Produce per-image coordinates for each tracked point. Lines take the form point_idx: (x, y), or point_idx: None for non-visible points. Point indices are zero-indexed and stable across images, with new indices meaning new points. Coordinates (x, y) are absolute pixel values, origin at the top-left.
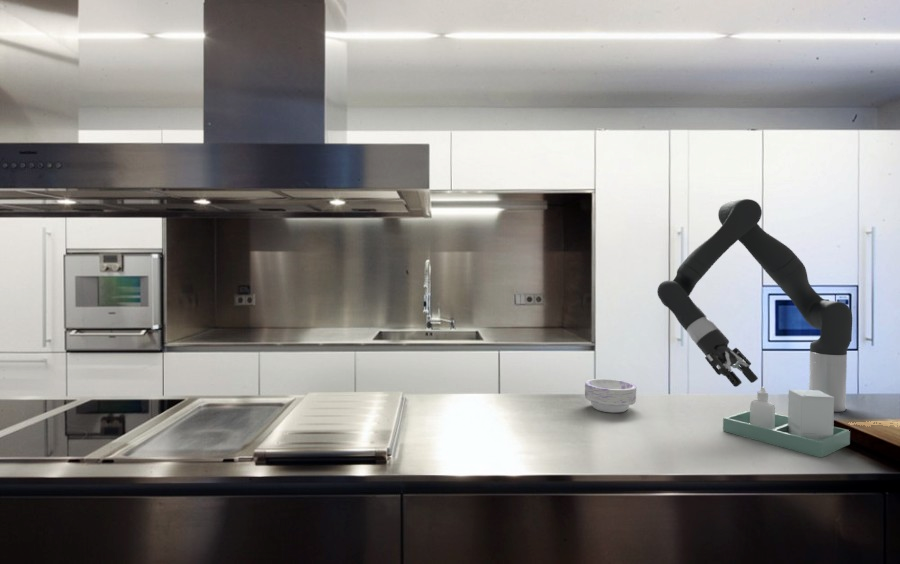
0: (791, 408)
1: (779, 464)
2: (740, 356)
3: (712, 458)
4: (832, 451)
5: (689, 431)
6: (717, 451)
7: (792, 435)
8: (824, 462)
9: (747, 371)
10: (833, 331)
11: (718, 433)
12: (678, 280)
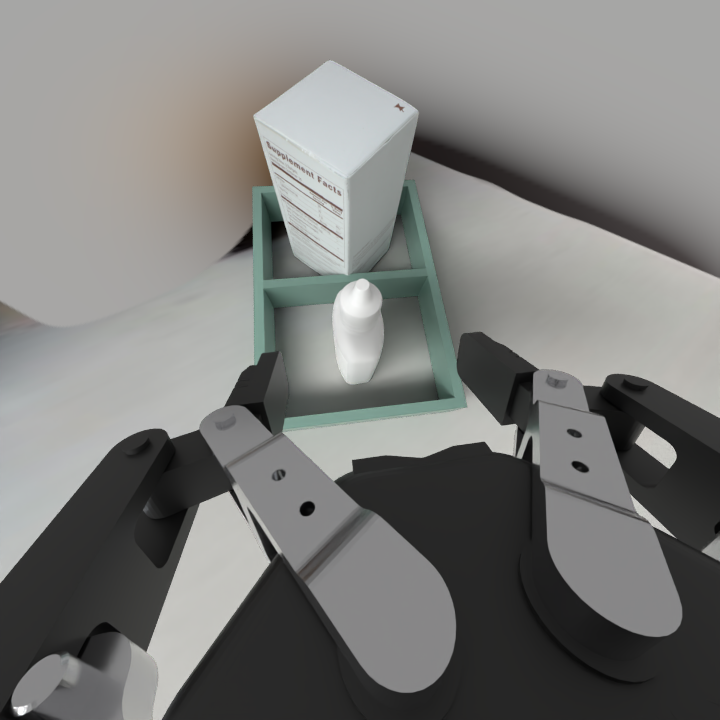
0: (367, 218)
1: (515, 227)
2: (103, 579)
3: (621, 301)
4: None
5: None
6: (582, 320)
7: (425, 229)
8: (425, 196)
9: (271, 408)
10: None
11: (479, 403)
12: None
